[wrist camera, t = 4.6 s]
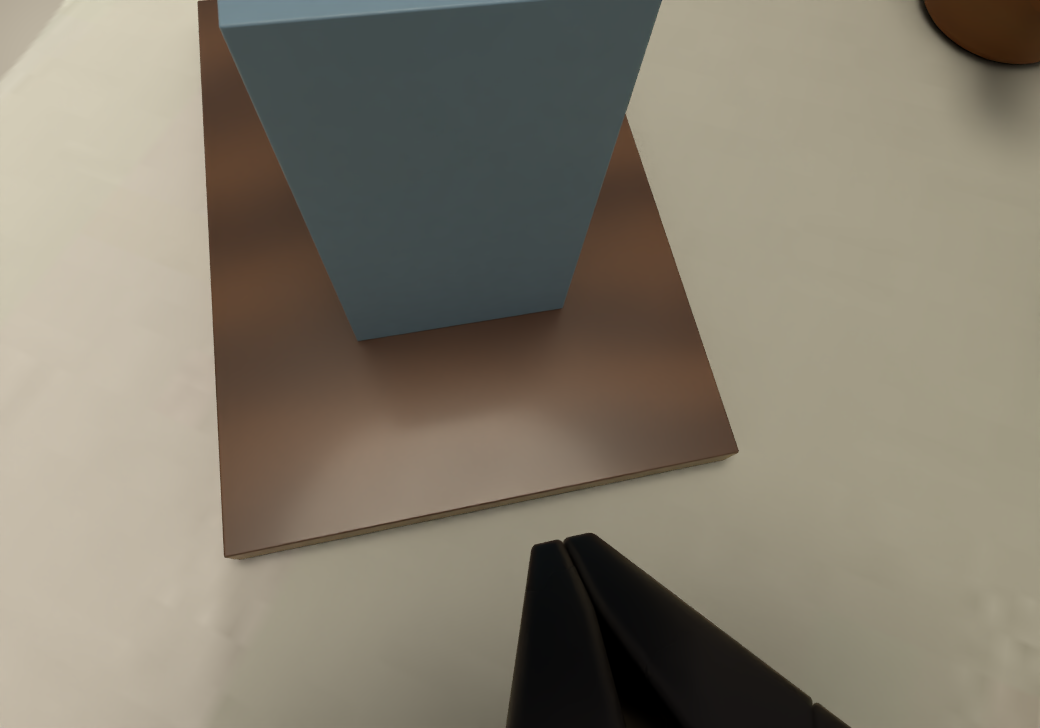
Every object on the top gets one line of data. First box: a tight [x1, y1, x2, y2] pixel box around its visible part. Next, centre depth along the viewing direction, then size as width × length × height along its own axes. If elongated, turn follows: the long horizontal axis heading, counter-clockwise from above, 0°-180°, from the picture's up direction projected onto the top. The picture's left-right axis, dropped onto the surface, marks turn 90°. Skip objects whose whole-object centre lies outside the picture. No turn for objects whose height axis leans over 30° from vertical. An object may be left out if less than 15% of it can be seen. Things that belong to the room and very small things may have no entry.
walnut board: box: [198, 0, 739, 560], centre depth 23 cm, size 22×16×1 cm
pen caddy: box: [217, 0, 662, 341], centre depth 16 cm, size 9×7×13 cm
